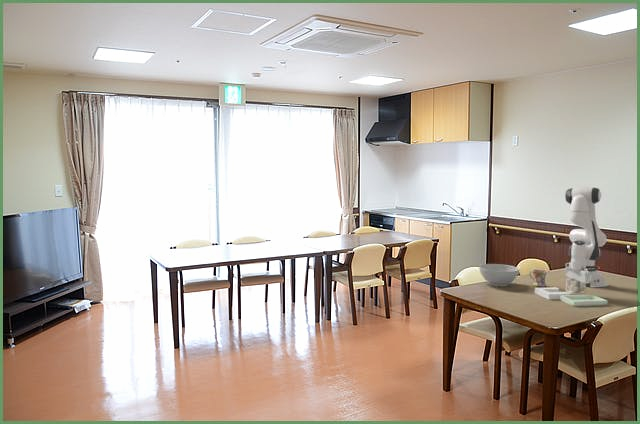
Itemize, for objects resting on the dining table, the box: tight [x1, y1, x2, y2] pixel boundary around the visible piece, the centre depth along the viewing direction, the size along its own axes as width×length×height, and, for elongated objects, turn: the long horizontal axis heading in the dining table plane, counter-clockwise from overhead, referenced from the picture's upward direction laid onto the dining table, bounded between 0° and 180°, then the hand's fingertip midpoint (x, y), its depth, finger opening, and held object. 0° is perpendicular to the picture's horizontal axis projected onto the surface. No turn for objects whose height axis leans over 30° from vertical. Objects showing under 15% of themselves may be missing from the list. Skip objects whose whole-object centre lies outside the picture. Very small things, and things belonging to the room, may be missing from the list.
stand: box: [534, 286, 572, 301], centre depth 332 cm, size 15×16×4 cm
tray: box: [559, 294, 608, 307], centre depth 317 cm, size 22×14×3 cm, turn 98°
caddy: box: [565, 278, 591, 294], centre depth 334 cm, size 15×6×8 cm, turn 99°
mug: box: [529, 269, 548, 288], centre depth 359 cm, size 12×9×11 cm
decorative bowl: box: [478, 263, 520, 288], centre depth 361 cm, size 27×27×12 cm
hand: (577, 287), depth 334 cm, fingers closed on caddy, 6 cm apart
